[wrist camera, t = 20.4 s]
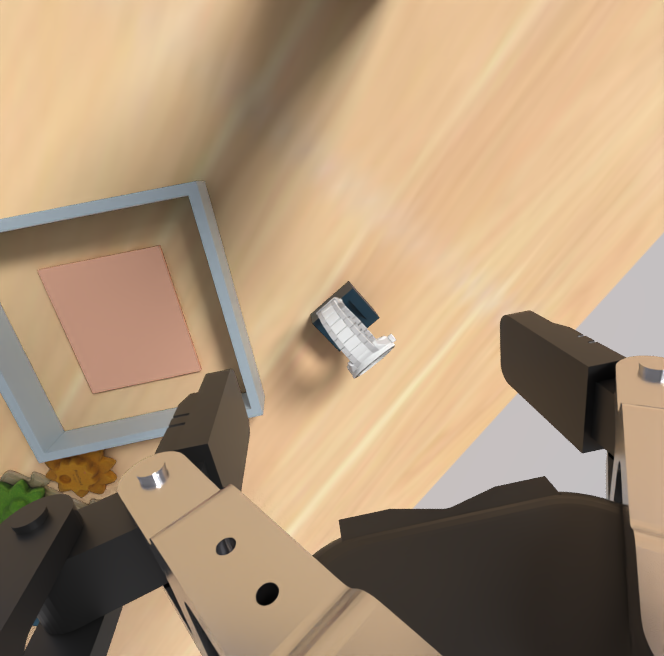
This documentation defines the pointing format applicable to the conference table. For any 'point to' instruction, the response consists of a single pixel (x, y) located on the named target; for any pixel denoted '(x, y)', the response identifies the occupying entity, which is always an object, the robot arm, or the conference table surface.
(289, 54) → the conference table surface
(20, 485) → the gear puzzle
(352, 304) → the watch
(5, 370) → the grey flat square frame
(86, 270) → the resting pad
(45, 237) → the conference table surface
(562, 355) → the robot arm
